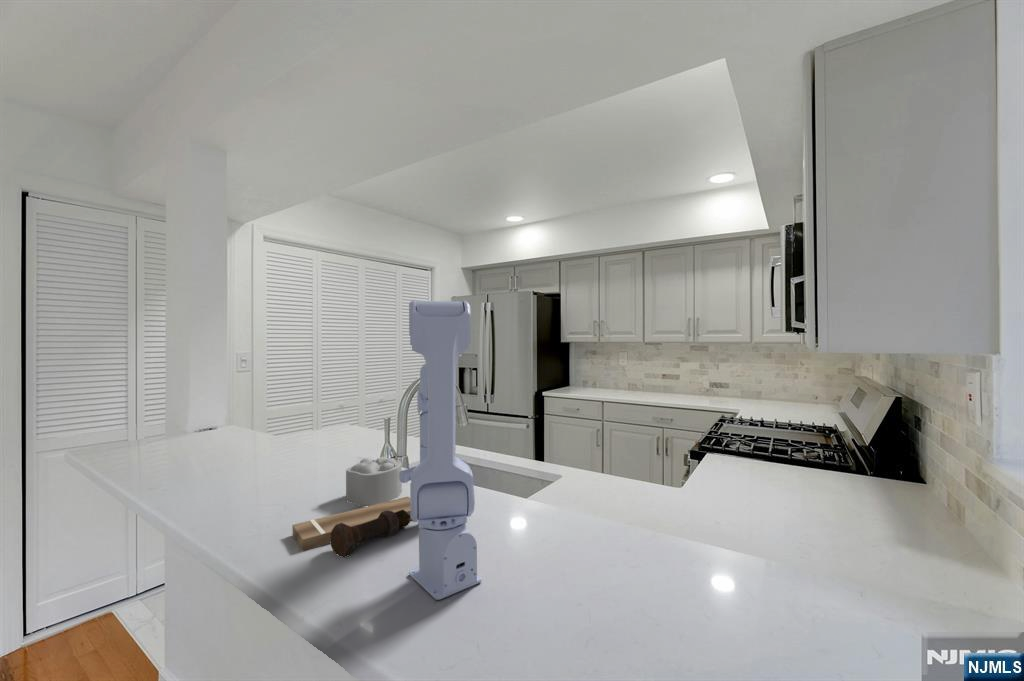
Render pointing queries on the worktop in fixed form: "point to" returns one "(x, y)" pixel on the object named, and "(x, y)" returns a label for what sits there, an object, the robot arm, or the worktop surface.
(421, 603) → the worktop surface
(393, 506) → the walnut board
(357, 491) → the lumpy-topped squat cylinder
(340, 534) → the bolt
